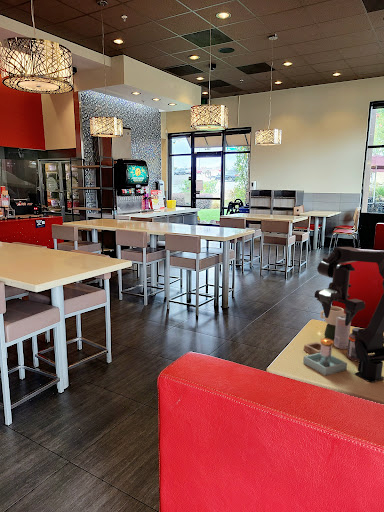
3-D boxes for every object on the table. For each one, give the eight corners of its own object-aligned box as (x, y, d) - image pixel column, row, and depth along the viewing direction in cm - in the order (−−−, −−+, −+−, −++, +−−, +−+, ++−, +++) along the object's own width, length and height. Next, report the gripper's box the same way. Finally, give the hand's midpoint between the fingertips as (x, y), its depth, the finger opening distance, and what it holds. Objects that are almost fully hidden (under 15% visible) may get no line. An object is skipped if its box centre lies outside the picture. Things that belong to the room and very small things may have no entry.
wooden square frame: (330, 354, 144) (331, 348, 144) (317, 357, 141) (318, 351, 140) (316, 347, 150) (317, 341, 150) (303, 350, 147) (304, 344, 146)
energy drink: (345, 344, 154) (348, 316, 152) (349, 349, 149) (353, 320, 147) (332, 343, 154) (335, 315, 152) (335, 348, 149) (338, 319, 147)
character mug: (345, 337, 162) (349, 308, 159) (345, 343, 155) (349, 312, 153) (319, 333, 166) (321, 304, 163) (317, 338, 159) (320, 308, 157)
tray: (346, 369, 131) (347, 363, 131) (325, 375, 127) (326, 368, 126) (323, 358, 140) (324, 351, 140) (303, 363, 135) (303, 356, 135)
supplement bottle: (349, 353, 145) (352, 325, 143) (365, 358, 141) (369, 329, 140) (344, 358, 141) (347, 329, 139) (361, 363, 137) (364, 333, 135)
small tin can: (333, 366, 132) (336, 341, 131) (324, 368, 131) (327, 343, 129) (324, 361, 136) (326, 337, 135) (315, 363, 134) (318, 339, 133)
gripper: (305, 277, 143) (302, 316, 146) (346, 289, 127) (341, 333, 130) (326, 274, 149) (322, 313, 151) (368, 286, 132) (363, 328, 135)
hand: (336, 321), depth 142 cm, fingers open, 9 cm apart
